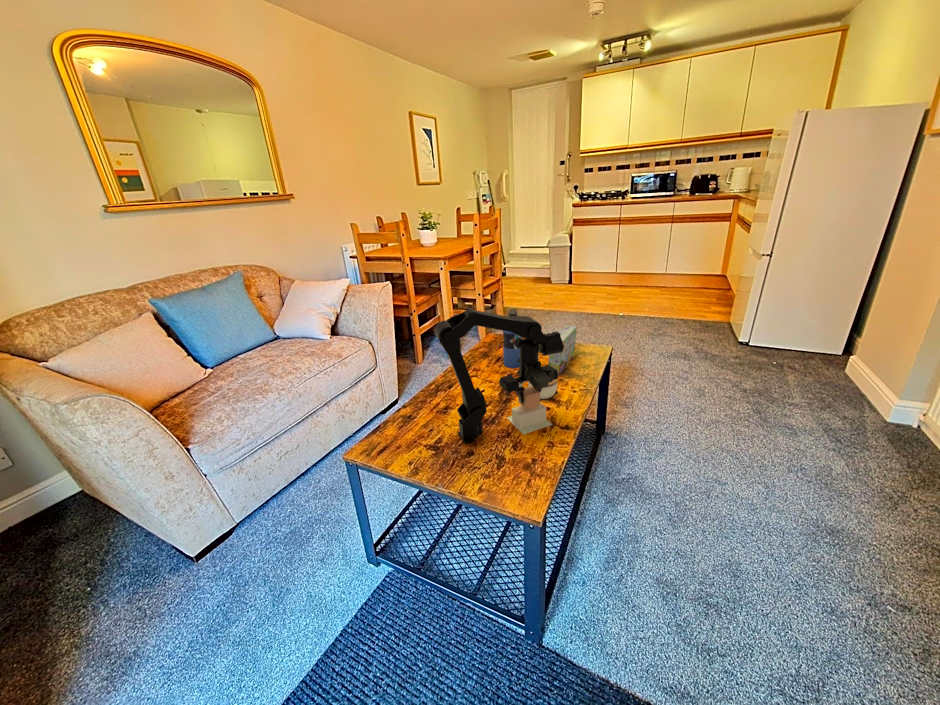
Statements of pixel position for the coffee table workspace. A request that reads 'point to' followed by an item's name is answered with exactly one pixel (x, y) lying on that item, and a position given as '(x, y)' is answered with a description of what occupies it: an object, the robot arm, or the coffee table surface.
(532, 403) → the top brick
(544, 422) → the baseplate
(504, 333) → the water bottle
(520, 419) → the bottom brick
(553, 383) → the lidded jar
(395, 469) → the coffee table surface
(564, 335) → the snack box
